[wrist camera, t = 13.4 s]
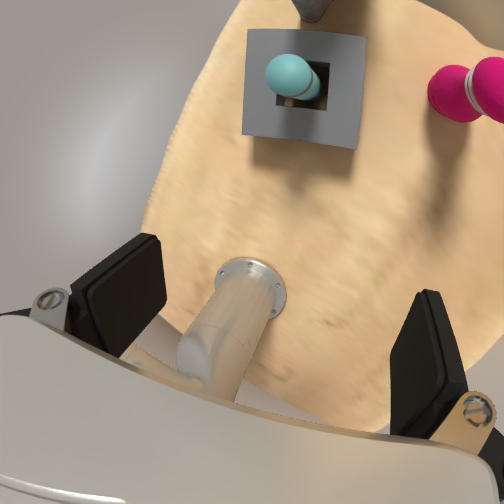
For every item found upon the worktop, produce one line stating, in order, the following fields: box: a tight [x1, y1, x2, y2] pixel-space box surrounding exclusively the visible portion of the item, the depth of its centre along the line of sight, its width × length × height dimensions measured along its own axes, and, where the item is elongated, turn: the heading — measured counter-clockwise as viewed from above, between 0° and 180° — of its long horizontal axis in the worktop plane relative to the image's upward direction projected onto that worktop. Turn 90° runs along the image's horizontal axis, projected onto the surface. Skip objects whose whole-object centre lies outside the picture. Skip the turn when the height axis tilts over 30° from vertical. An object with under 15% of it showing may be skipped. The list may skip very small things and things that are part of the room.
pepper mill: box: [428, 57, 504, 124], centre depth 20 cm, size 7×7×20 cm
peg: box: [265, 54, 323, 101], centre depth 28 cm, size 4×4×14 cm
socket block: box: [242, 29, 367, 150], centre depth 32 cm, size 14×14×5 cm
